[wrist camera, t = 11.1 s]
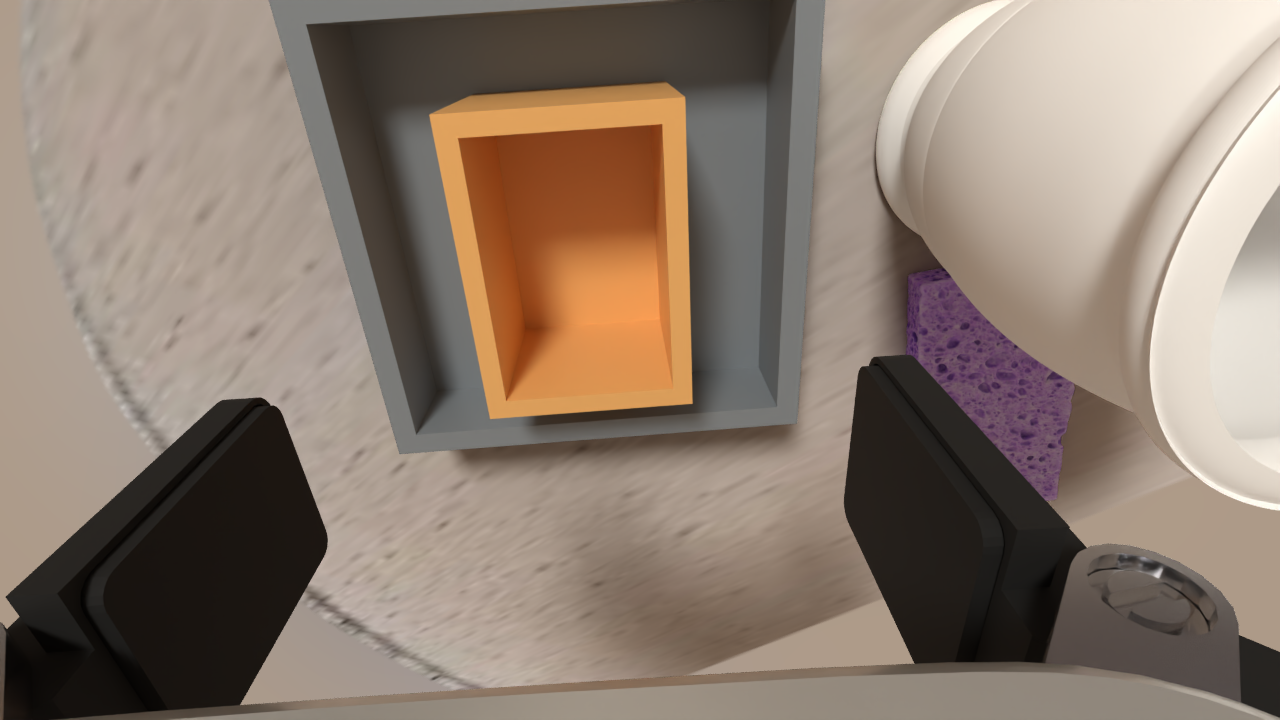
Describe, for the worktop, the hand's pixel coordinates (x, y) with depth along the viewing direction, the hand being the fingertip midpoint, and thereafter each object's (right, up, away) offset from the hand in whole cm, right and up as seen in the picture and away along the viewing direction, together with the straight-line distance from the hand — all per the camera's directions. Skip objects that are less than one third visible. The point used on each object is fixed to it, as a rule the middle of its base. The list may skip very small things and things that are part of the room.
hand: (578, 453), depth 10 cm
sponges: (+16, +1, +19) cm, 25 cm away
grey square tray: (-1, +7, +13) cm, 15 cm away
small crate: (-1, +7, +13) cm, 14 cm away
